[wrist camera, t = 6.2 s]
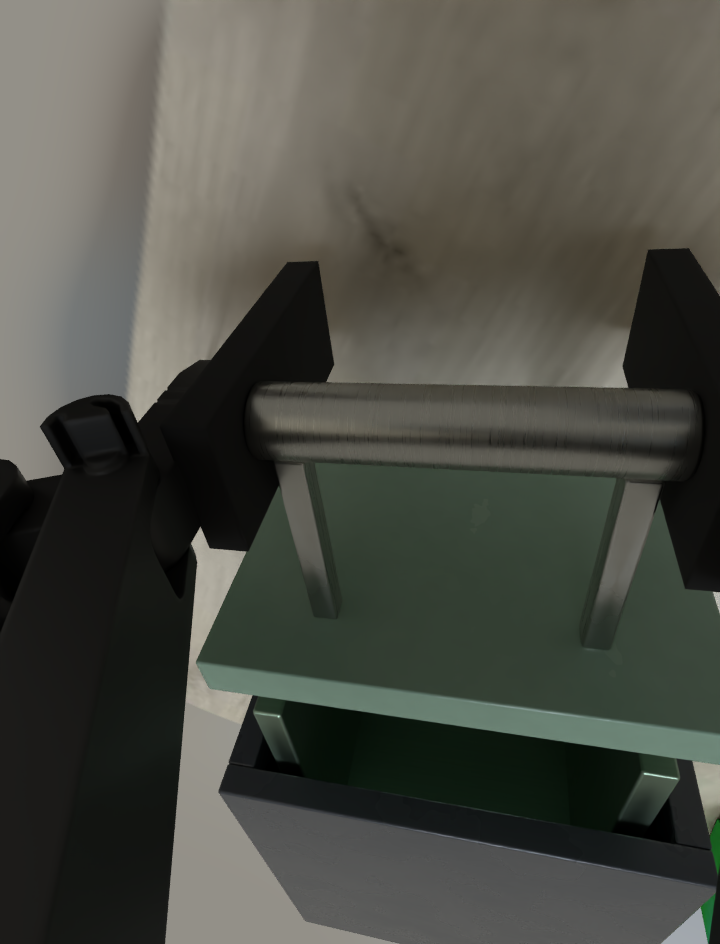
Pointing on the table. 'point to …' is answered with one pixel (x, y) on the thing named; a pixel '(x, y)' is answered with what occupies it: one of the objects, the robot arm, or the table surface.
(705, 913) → the apple
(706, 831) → the charcoal drawer box
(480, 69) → the table surface
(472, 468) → the green drawer
